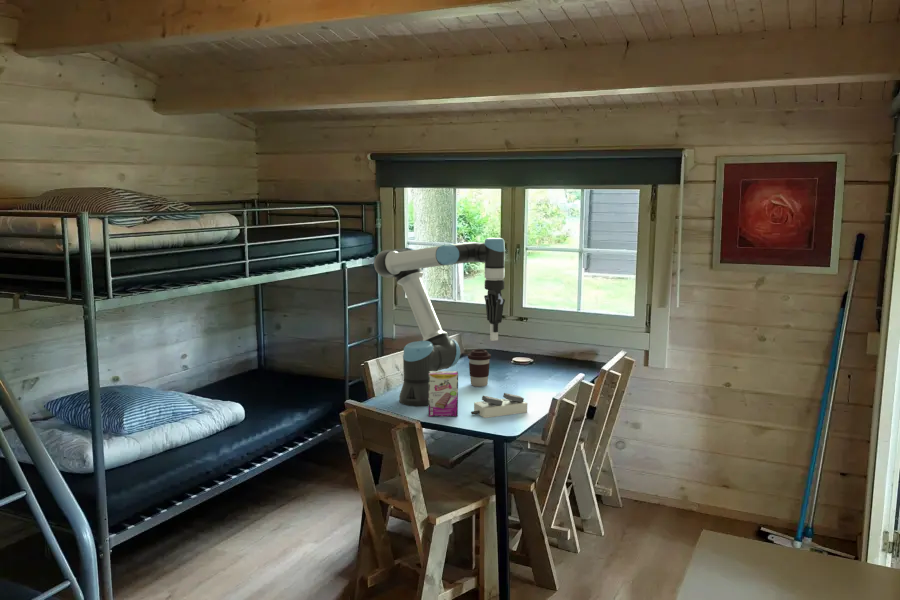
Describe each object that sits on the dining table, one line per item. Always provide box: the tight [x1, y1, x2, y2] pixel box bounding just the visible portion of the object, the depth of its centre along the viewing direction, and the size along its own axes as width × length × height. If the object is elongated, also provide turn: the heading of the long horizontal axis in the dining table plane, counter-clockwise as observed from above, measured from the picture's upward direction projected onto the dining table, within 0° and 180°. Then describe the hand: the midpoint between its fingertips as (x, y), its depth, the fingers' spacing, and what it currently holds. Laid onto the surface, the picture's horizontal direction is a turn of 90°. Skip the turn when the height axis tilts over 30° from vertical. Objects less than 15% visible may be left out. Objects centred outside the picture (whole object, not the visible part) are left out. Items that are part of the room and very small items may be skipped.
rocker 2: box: [502, 392, 525, 402], centre depth 277 cm, size 7×4×2 cm, turn 113°
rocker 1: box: [481, 395, 503, 405], centre depth 273 cm, size 7×4×2 cm, turn 113°
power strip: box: [470, 398, 528, 419], centre depth 277 cm, size 21×9×4 cm, turn 113°
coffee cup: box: [467, 348, 492, 388], centre depth 316 cm, size 10×10×15 cm
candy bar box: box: [427, 370, 459, 417], centre depth 273 cm, size 11×5×16 cm, turn 92°
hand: (494, 340), depth 280 cm, fingers closed
